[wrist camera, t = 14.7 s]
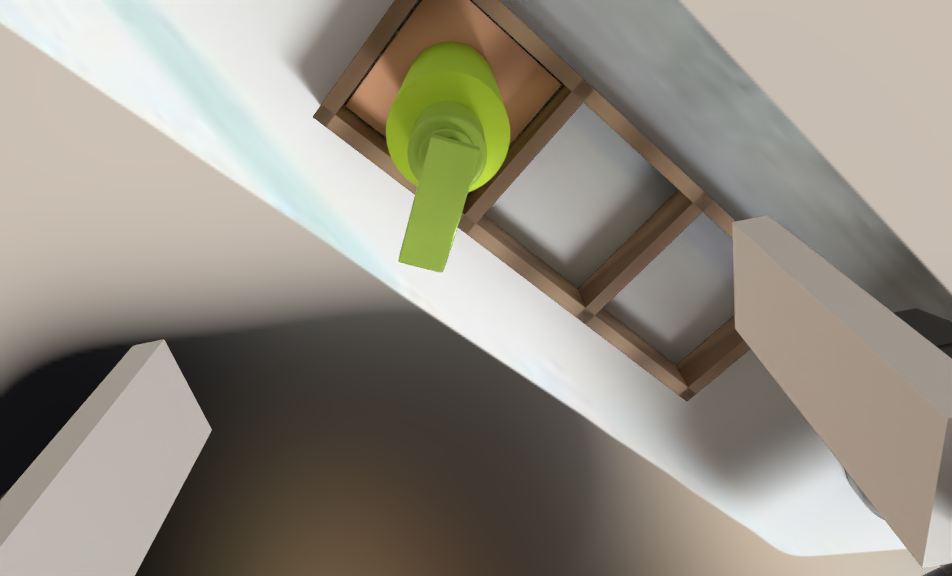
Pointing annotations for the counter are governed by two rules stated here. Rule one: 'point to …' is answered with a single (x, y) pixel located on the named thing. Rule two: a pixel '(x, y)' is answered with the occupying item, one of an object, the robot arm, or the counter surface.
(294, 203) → the counter surface
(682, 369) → the pocket rack
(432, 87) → the soap dispenser
